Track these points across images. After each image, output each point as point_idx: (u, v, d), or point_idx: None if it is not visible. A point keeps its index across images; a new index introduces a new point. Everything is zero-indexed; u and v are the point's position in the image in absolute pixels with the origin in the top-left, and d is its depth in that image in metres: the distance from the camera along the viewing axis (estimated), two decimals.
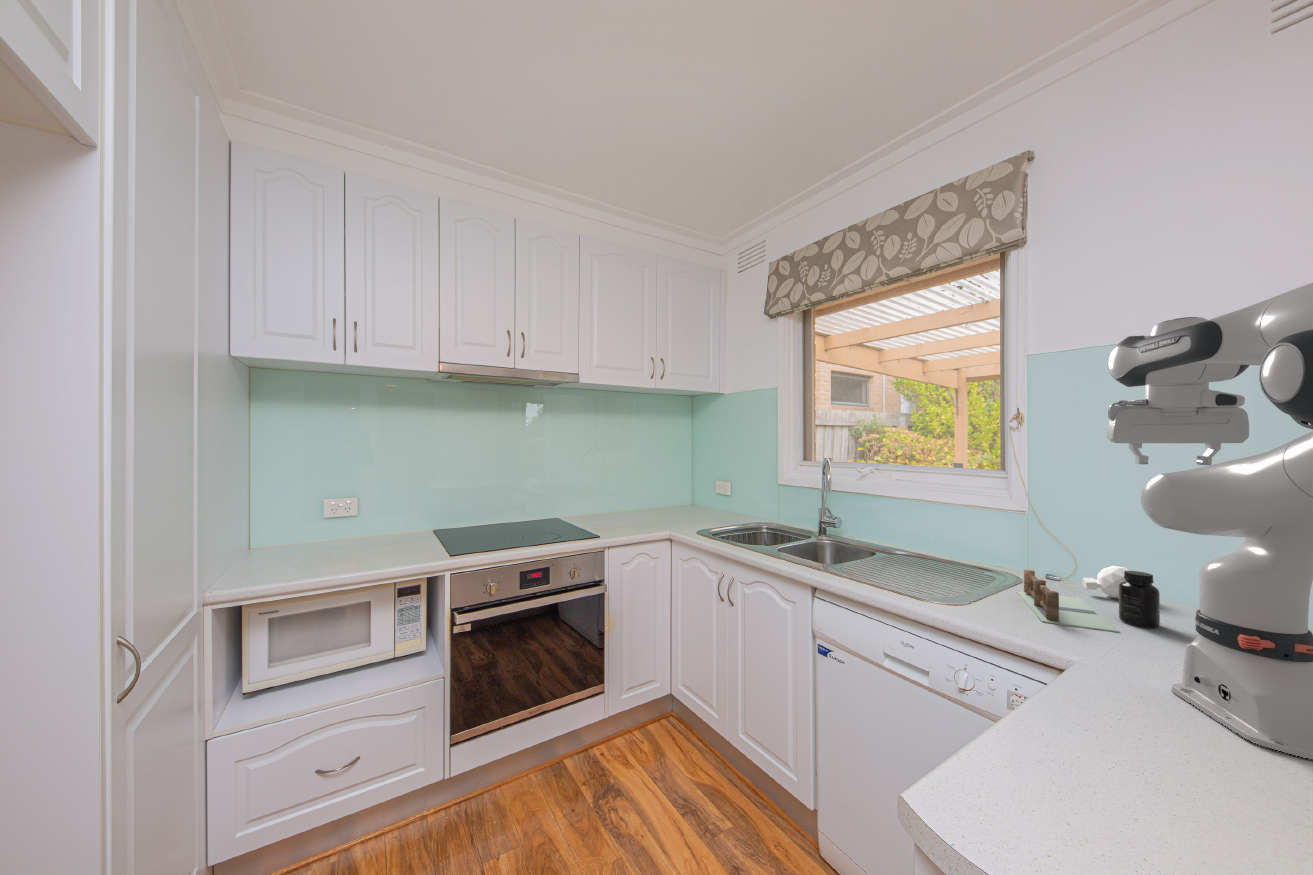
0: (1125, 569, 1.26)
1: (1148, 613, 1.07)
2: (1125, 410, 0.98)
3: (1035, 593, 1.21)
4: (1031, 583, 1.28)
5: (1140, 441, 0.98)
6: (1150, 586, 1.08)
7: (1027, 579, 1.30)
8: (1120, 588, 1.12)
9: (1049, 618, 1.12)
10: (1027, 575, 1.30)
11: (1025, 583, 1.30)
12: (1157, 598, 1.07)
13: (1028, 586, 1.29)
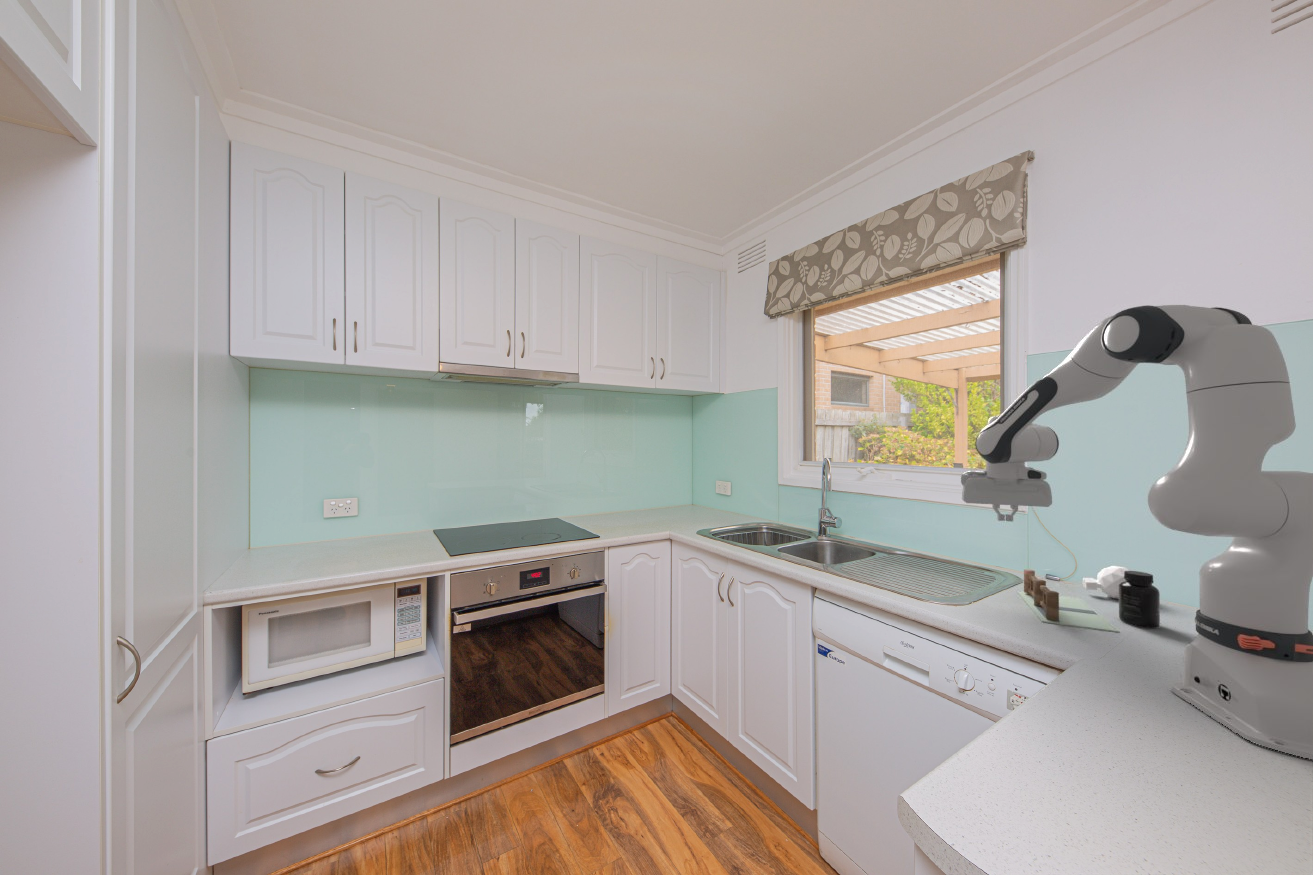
0: (1125, 569, 1.26)
1: (1148, 613, 1.07)
2: (971, 478, 1.32)
3: (1035, 593, 1.21)
4: (1031, 583, 1.28)
5: (981, 502, 1.31)
6: (1150, 586, 1.08)
7: (1027, 579, 1.30)
8: (1120, 588, 1.12)
9: (1049, 618, 1.12)
10: (1027, 575, 1.30)
11: (1025, 583, 1.30)
12: (1157, 598, 1.07)
13: (1028, 586, 1.29)
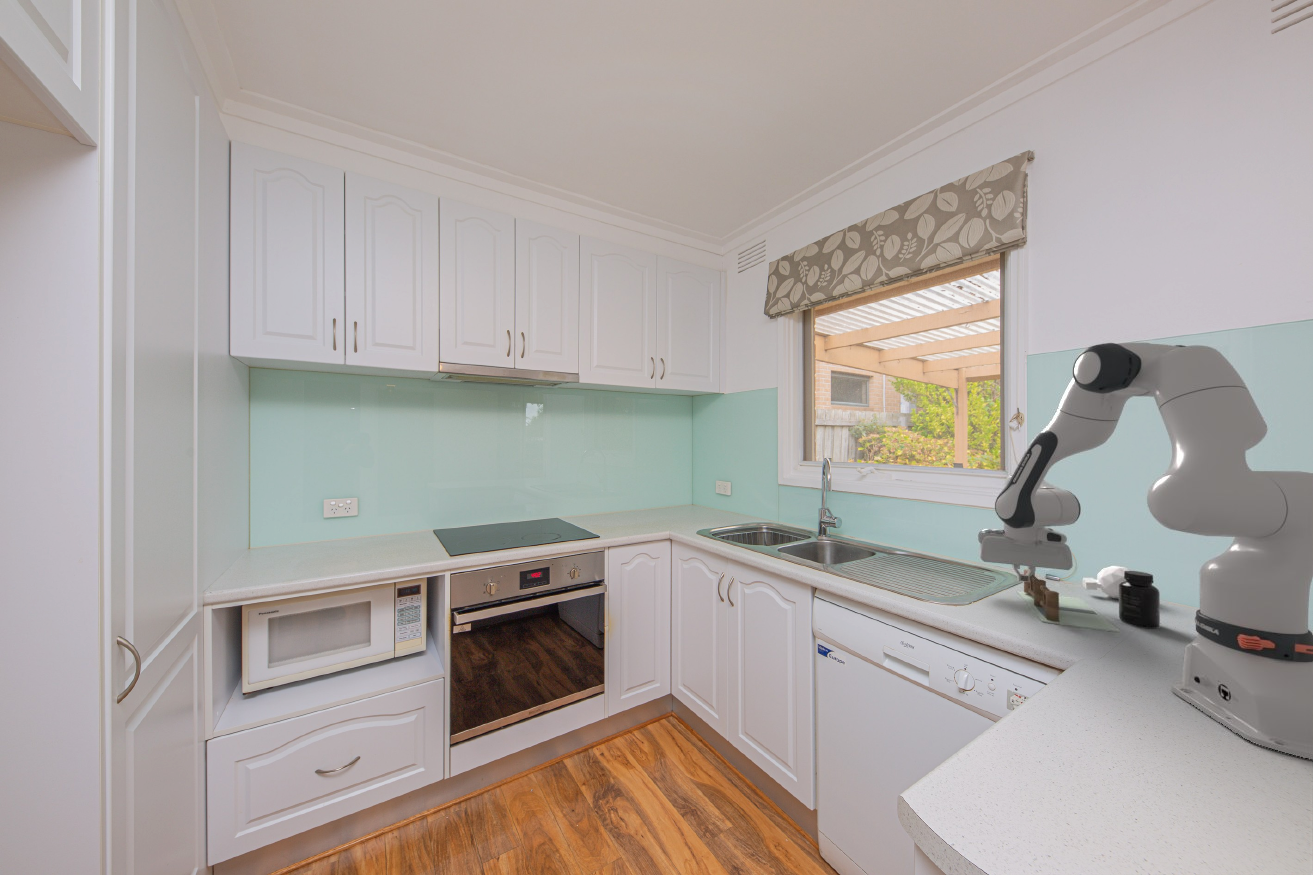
0: (1125, 569, 1.26)
1: (1148, 613, 1.07)
2: (988, 537, 1.31)
3: (1035, 593, 1.21)
4: (1031, 583, 1.28)
5: (999, 562, 1.30)
6: (1150, 586, 1.08)
7: None
8: (1120, 588, 1.12)
9: (1049, 618, 1.12)
10: None
11: (1025, 583, 1.30)
12: (1157, 598, 1.07)
13: (1028, 586, 1.29)
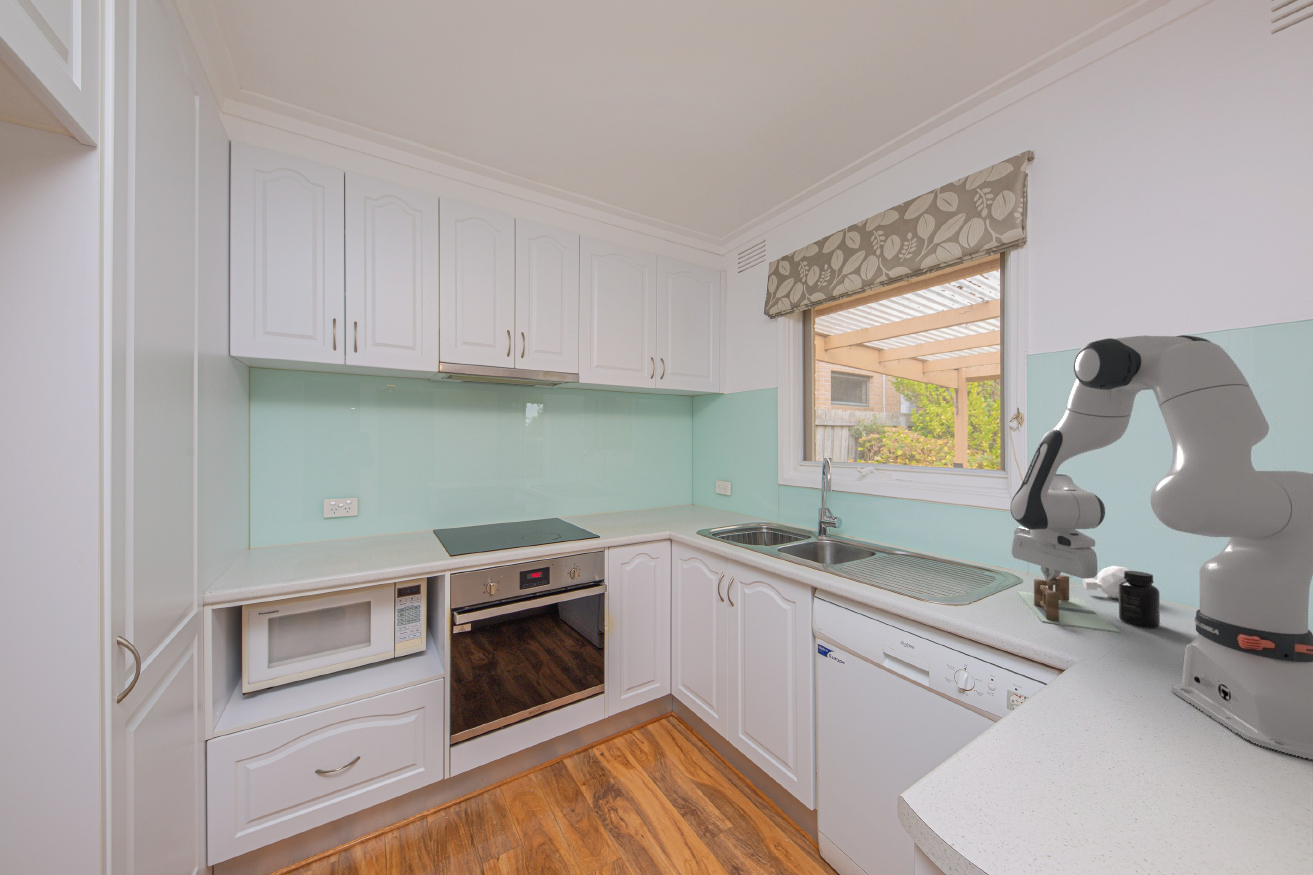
0: (1125, 569, 1.26)
1: (1148, 613, 1.07)
2: (1017, 534, 1.33)
3: (1035, 593, 1.21)
4: (1055, 587, 1.24)
5: (1025, 560, 1.30)
6: (1150, 586, 1.08)
7: None
8: (1120, 588, 1.12)
9: (1049, 618, 1.12)
10: None
11: None
12: (1157, 598, 1.07)
13: None
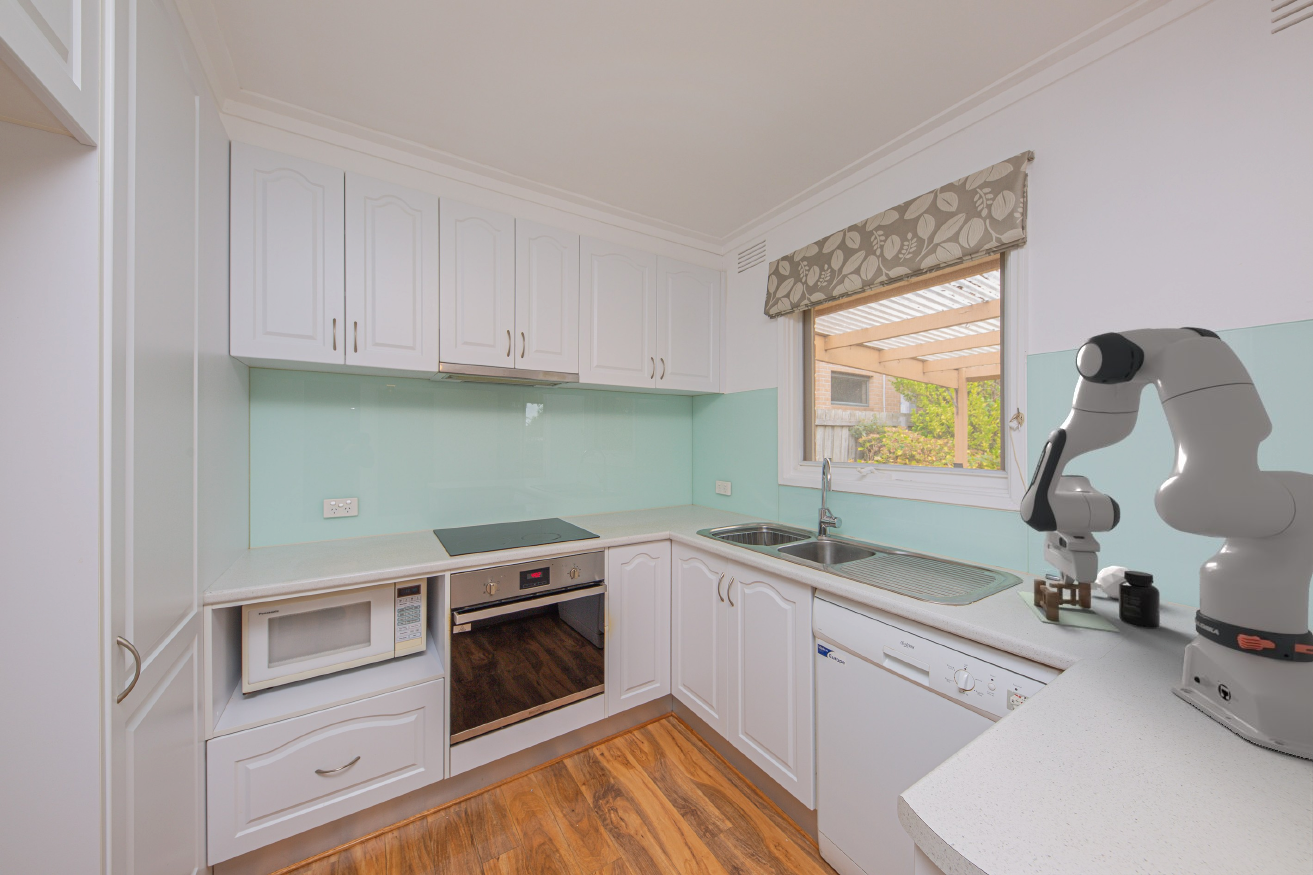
0: (1125, 569, 1.26)
1: (1148, 613, 1.07)
2: None
3: (1035, 593, 1.21)
4: (1071, 592, 1.20)
5: (1049, 562, 1.27)
6: (1150, 586, 1.08)
7: (1078, 590, 1.20)
8: (1120, 588, 1.12)
9: (1049, 618, 1.12)
10: None
11: None
12: (1157, 598, 1.07)
13: (1078, 598, 1.20)
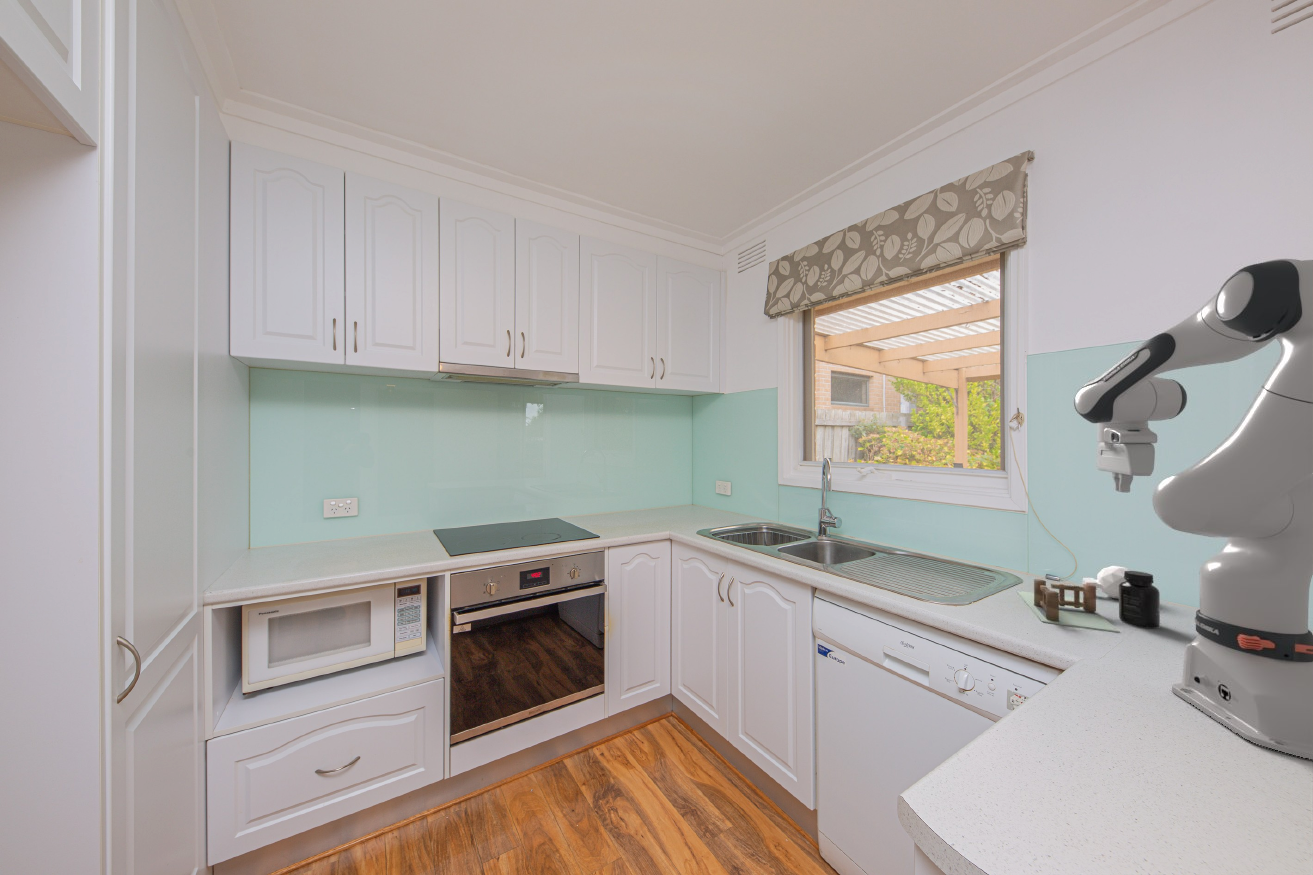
0: (1125, 569, 1.26)
1: (1148, 613, 1.07)
2: None
3: (1035, 593, 1.21)
4: None
5: (1103, 469, 1.19)
6: (1150, 586, 1.08)
7: None
8: (1120, 588, 1.12)
9: (1049, 618, 1.12)
10: None
11: None
12: (1157, 598, 1.07)
13: None
